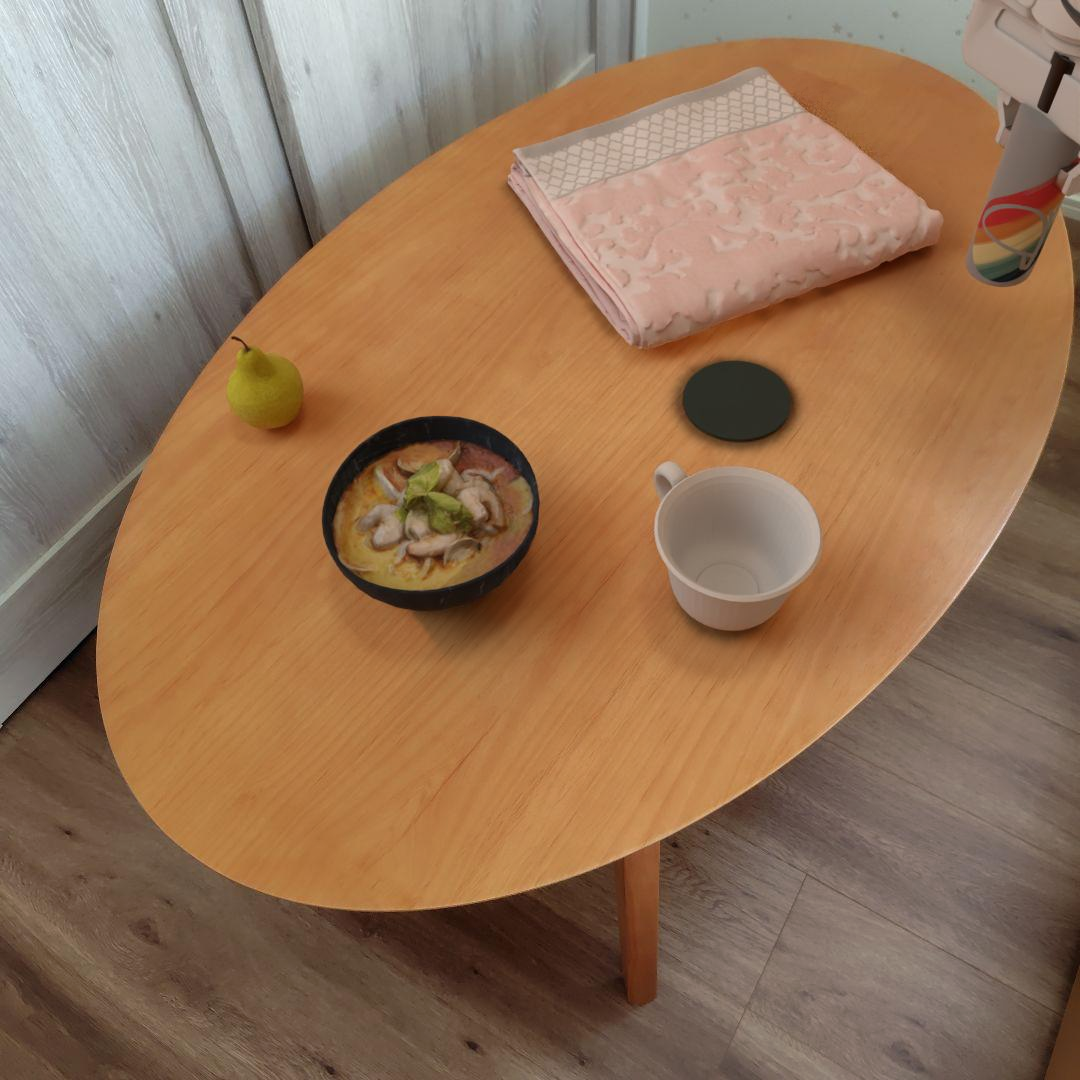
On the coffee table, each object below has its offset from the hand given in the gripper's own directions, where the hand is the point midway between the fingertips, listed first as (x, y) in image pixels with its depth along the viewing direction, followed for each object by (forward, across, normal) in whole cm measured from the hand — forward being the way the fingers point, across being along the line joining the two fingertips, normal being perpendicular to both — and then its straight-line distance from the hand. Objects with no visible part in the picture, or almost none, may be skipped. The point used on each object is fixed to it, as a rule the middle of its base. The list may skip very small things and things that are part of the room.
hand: (1036, 166), depth 76 cm
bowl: (+18, -3, +55) cm, 58 cm away
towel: (+18, +27, +14) cm, 35 cm away
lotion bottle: (+10, 0, 0) cm, 10 cm away
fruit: (+17, +20, +65) cm, 70 cm away
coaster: (+18, +2, +24) cm, 30 cm away
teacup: (+18, -15, +36) cm, 43 cm away
